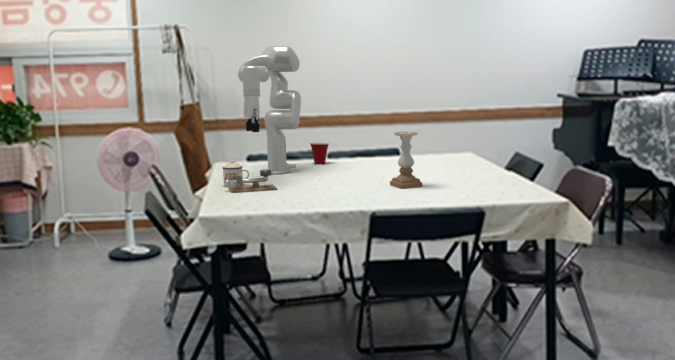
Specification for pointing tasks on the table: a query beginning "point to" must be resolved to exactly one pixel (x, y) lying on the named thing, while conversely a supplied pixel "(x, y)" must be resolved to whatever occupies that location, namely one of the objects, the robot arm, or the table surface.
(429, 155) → the table surface
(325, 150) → the plastic cup
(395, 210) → the table surface
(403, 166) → the candle holder
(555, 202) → the table surface
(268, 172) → the hook rod
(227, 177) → the teacup with lid
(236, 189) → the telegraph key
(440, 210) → the table surface
